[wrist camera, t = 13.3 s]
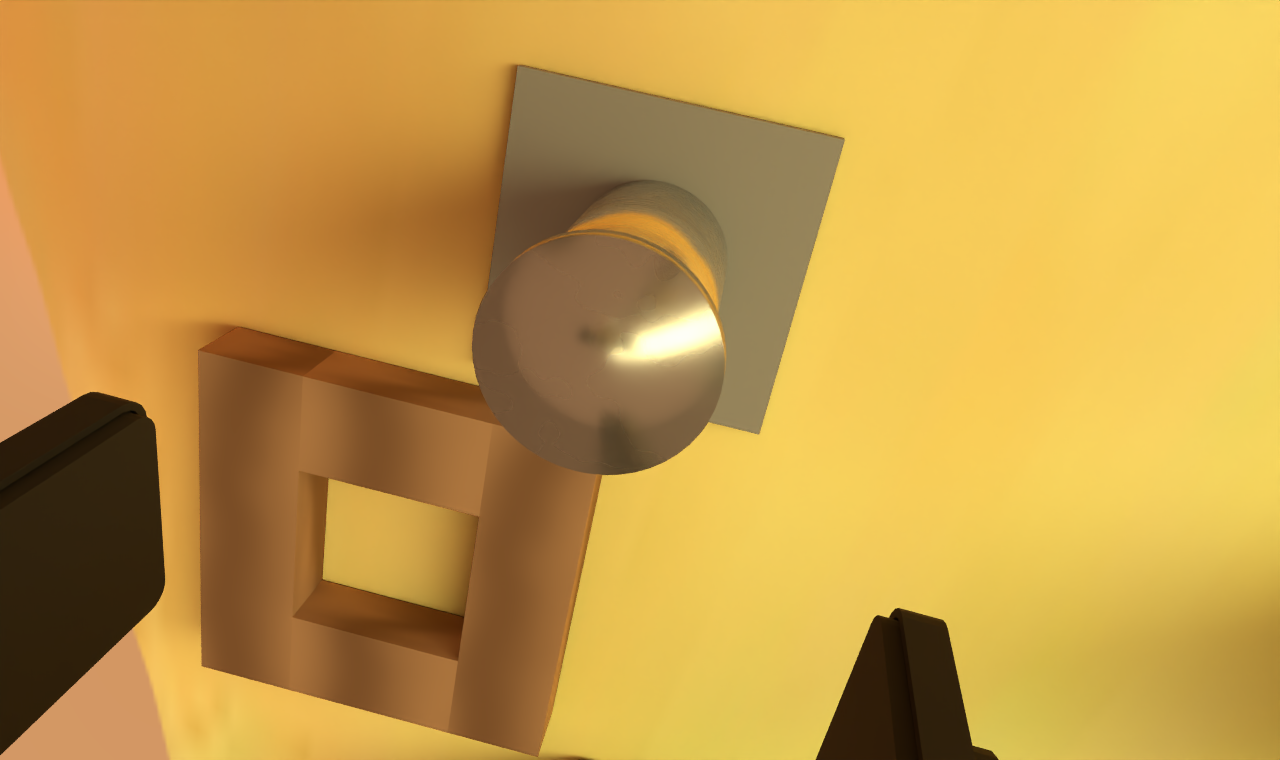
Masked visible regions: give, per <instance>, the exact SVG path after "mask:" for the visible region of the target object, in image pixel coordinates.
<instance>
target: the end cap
mask: <svg viewBox="0 0 1280 760" xmlns="http://www.w3.org/2000/svg"><path fill="white" fill-rule="evenodd" d="M727 263H728V255H727V246H726V241H725V237H724V234H723V232H722V229H721V227H720V225H719V223H718V221H717V219H716V218H715V216H714V215H713V213H712V212H711V210H710V209H709V208H708V207H707V206H706V205H705V204H704V203H703V202H702V201H701V200H700V199H698V198H697V197H696V196H695V195H693V194H692V193H690V192H688V191H687V190H685V189H683V188H681V187H679V186H676V185H673V184H670V183H667V182H661V181H654V180H642V181H634V182H629V183H625V184H622V185H620V186H617V187H615V188H613V189H611V190H609V191H608V192H606V193H605V194H603V195H602V196H601V197H599V198H598V199H597V200H596V201H595V202H594V203H593V204H592V205H591V206H590V207H589V208H588V209H587V210H586V211H585V212H584V213H583V214H582V215H581V216H580V217H579V218H578V219H577V220H576V222H575V223H574V224H573V225H572V226H571V227H570V228H569V229H568V230H567V231H566V232H565V233H562V234H558V235H555V236H553V237H550V238H547V239H545V240H543V241H541V242H539V243H537V244H535V245H533V246H531V247H530V248H528V249H527V250H526V251H524V252H523V253H522V254H520V255H519V256H518V257H516V258H515V259H514V260H513V261H512V262H511V263H510V264H509V265H508V266H507V267H506V268H505V269H504V270H503V271H502V272H501V273H500V274H499V275H498V276H497V278H496V279H495V280H494V282H493V283H492V284H491V286H490V287H489V289H488V290H487V292H486V294H485V296H484V298H483V300H482V302H481V304H480V307H479V310H478V313H477V315H476V320H475V324H474V329H473V340H472V352H473V363H474V368H475V373H476V378H477V380H478V383H479V386H480V389H481V392H482V394H483V396H484V398H485V400H486V402H487V404H488V406H489V408H490V409H491V411H492V412H493V414H494V415H495V417H496V418H497V420H498V421H499V422H500V423H501V425H502V426H503V427H504V428H505V429H506V431H507V432H509V433H510V434H511V435H512V436H513V437H514V438H515V439H516V440H517V441H518V442H519V443H521V444H522V445H523V446H524V447H526V448H527V449H528V450H530V451H531V452H533V453H535V454H536V455H538V456H540V457H541V458H543V459H545V460H547V461H549V462H551V463H554V464H556V465H558V466H561V467H564V468H567V469H570V470H573V471H578V472H583V473H588V474H599V475H619V474H626V473H633V472H638V471H641V470H645V469H648V468H651V467H654V466H656V465H658V464H661V463H663V462H665V461H667V460H668V459H670V458H672V457H673V456H675V455H677V454H678V453H679V452H681V451H682V450H683V449H685V448H686V447H687V446H688V445H690V444H691V442H692V441H693V440H694V439H695V438H696V437H697V436H698V435H699V434H700V433H701V431H702V430H703V429H704V427H705V426H706V425H707V423H708V422H709V420H710V418H711V416H712V414H713V412H714V410H715V409H716V406H717V403H718V400H719V397H720V395H721V390H722V385H723V380H724V374H725V366H726V344H725V335H724V331H723V327H722V322H721V319H720V317H719V314H718V313H719V308H720V303H721V298H722V293H723V287H724V282H725V277H726V272H727Z"/></svg>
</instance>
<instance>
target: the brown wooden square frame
mask: <svg viewBox="0 0 1280 760" xmlns="http://www.w3.org/2000/svg"><path fill="white" fill-rule="evenodd" d="M198 366H199V460H200V553H201V647H202V666H203V667H207V668H211V669H214V670H218V671H222V672H226V673H229V674H233V675H237V676H240V677H244V678H248V679H251V680H255V681H259V682H262V683H266V684H270V685H274V686H277V687H281V688H285V689H288V690H292V691H296V692H299V693H303V694H307V695H311V696H314V697H318V698H322V699H325V700H329V701H333V702H336V703H340V704H344V705H348V706H351V707H355V708H359V709H362V710H366V711H370V712H373V713H377V714H381V715H385V716H388V717H392V718H396V719H399V720H403V721H407V722H410V723H414V724H418V725H422V726H425V727H429V728H433V729H436V730H440V731H444V732H447V733H451V734H455V735H459V736H462V737H466V738H470V739H473V740H477V741H481V742H484V743H488V744H492V745H496V746H499V747H503V748H507V749H510V750H514V751H518V752H521V753H525V754H529V755H533V756H536V757H538V754H539V751H540V748H541V745H542V742H543V739H544V736H545V733H546V730H547V726H548V723H549V720H550V717H551V714H552V710H553V705H554V701H555V696H556V691H557V687H558V682H559V677H560V672H561V668H562V663H563V658H564V653H565V649H566V644H567V639H568V634H569V630H570V625H571V620H572V615H573V611H574V606H575V601H576V596H577V592H578V587H579V582H580V577H581V573H582V568H583V563H584V558H585V554H586V549H587V544H588V540H589V535H590V530H591V525H592V521H593V516H594V511H595V506H596V502H597V497H598V492H599V487H600V483H601V478H602V475H599V474H588V473H583V472H578V471H573V470H570V469H567V468H564V467H561V466H558V465H556V464H554V463H551V462H549V461H547V460H545V459H543V458H541V457H540V456H538V455H536V454H535V453H533V452H531V451H530V450H528V449H527V448H526V447H524V446H523V445H522V444H521V443H519V442H518V441H517V440H516V439H515V438H514V437H513V436H512V435H511V434H510V433H509V432H507V431H506V429H505V428H504V427H503V426H502V425H501V423H500V422H499V421H498V420H497V418H496V417H495V415H494V414H493V412H492V411H491V409H490V408H489V406H488V404H487V402H486V400H485V398H484V396H483V394H482V392H481V389H480V387H479V386H475V385H471V384H467V383H463V382H459V381H455V380H451V379H447V378H443V377H439V376H435V375H431V374H427V373H423V372H419V371H415V370H411V369H407V368H403V367H399V366H395V365H391V364H387V363H383V362H379V361H375V360H370V359H366V358H362V357H358V356H354V355H350V354H346V353H342V352H338V351H334V350H330V349H326V348H322V347H318V346H314V345H310V344H306V343H302V342H298V341H294V340H290V339H286V338H282V337H278V336H274V335H270V334H266V333H262V332H258V331H254V330H250V329H245V328H241V327H237V328H236V329H234V330H232V331H230V332H229V333H227V334H225V335H224V336H222V337H220V338H218V339H217V340H215V341H213V342H212V343H210V344H208V345H206V346H205V347H203V348H201V349H200V350H198ZM328 478H330V479H334V480H338V481H342V482H345V483H349V484H353V485H357V486H361V487H365V488H369V489H373V490H377V491H381V492H384V493H388V494H392V495H396V496H400V497H404V498H408V499H412V500H416V501H420V502H423V503H427V504H431V505H435V506H439V507H443V508H447V509H451V510H455V511H459V512H463V513H466V514H470V515H474V516H478V517H479V521H478V528H477V535H476V541H475V548H474V555H473V562H472V569H471V575H470V582H469V589H468V596H467V603H466V610H465V616H464V617H461V616H457V615H453V614H450V613H446V612H442V611H438V610H434V609H431V608H427V607H423V606H419V605H415V604H411V603H408V602H404V601H400V600H396V599H392V598H389V597H385V596H381V595H377V594H373V593H370V592H366V591H362V590H358V589H354V588H351V587H347V586H343V585H339V584H335V583H332V582H328V581H324V580H322V575H323V558H324V541H325V525H326V508H327V492H328Z"/></svg>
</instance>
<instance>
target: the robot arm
mask: <svg viewBox="0 0 1280 760" xmlns="http://www.w3.org/2000/svg"><path fill="white" fill-rule="evenodd" d="M164 586H165V569H164V554H163V538H162V522H161V507H160V491H159V475H158V460H157V444H156V429H155V425H154V423H153V421H152V420H151V419H150V418H148V417H147V416H146V411H145V410H144V408H143V407H142V405H140V404H138V403H136V402H132V401H129V400H125V399H121V398H118V397H114V396H110V395H107V394H103V393H99V392H90V393H87V394H85V395H83V396H81V397H79V398H77V399H76V400H74V401H72V402H70V403H69V404H67V405H65V406H63V407H62V408H60V409H58V410H56V411H55V412H53V413H51V414H49V415H48V416H46V417H44V418H43V419H41V420H39V421H37V422H36V423H34V424H32V425H31V426H29V427H27V428H25V429H24V430H22V431H20V432H18V433H17V434H15V435H13V436H11V437H9V438H8V439H6V440H4V441H2V442H1V443H0V755H1V754H2V753H3V752H4V751H5V750H6V749H7V748H8V747H9V746H10V745H11V744H13V743H14V742H15V741H16V740H17V739H18V738H19V737H20V736H21V735H22V734H23V733H24V732H25V731H26V730H27V729H28V728H29V727H30V726H31V725H32V724H33V723H34V722H35V721H36V720H38V719H39V718H40V717H41V716H42V715H43V714H44V713H45V712H46V711H47V710H48V709H49V708H50V707H51V706H52V705H53V704H54V703H55V702H56V701H57V700H58V699H59V698H60V697H61V696H63V694H65V693H66V692H67V691H68V690H69V689H70V688H71V687H72V686H73V685H74V684H75V683H76V682H77V681H78V680H79V679H80V678H81V677H82V676H83V675H84V674H85V673H86V672H88V671H89V670H90V668H92V667H93V666H94V665H95V664H96V663H97V662H98V661H99V660H100V659H101V658H102V657H103V656H104V655H105V654H106V653H107V652H108V651H109V650H110V649H111V648H112V647H114V645H116V643H118V642H119V641H120V640H121V639H122V638H123V637H124V636H125V635H126V634H127V633H128V632H129V631H130V630H131V629H132V628H133V627H134V626H135V625H136V624H137V623H139V622H140V621H141V620H142V619H143V618H144V617H145V616H146V615H147V614H148V613H149V612H150V611H151V610H152V609H153V608H154V607H155V605H156V604H157V602H158V601H159V599H160V597H161V595H162V593H163V589H164ZM816 760H998V758H997V757H996V756H995V755H994V753H993V752H992V751H990V750H986V749H982V748H979V747H975V746H972V742H971V737H970V732H969V727H968V723H967V718H966V713H965V709H964V704H963V699H962V694H961V690H960V685H959V680H958V675H957V671H956V666H955V661H954V657H953V652H952V647H951V642H950V638H949V633H948V628H947V626H946V623H945V622H944V621H943V620H941V619H937V618H933V617H930V616H926V615H922V614H919V613H915V612H911V611H908V610H904V609H900V608H897V609H895V610H894V611H893V612H892V613H891V615H890V617H889V618H887V617H883V616H879V615H877V616H876V617H875V618H874V619H873V621H872V623H871V626H870V628H869V630H868V633H867V635H866V638H865V640H864V643H863V645H862V648H861V650H860V653H859V655H858V657H857V660H856V662H855V665H854V667H853V670H852V672H851V675H850V677H849V680H848V682H847V684H846V687H845V689H844V692H843V694H842V697H841V699H840V702H839V704H838V706H837V709H836V711H835V714H834V716H833V719H832V721H831V724H830V726H829V729H828V731H827V733H826V736H825V738H824V741H823V743H822V746H821V748H820V751H819V753H818V756H817V758H816Z"/></svg>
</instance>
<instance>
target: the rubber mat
mask: <svg viewBox="0 0 1280 760" xmlns="http://www.w3.org/2000/svg"><path fill="white" fill-rule="evenodd" d="M844 141H845V140H844V138H841V137H836V136H832V135H828V134H823V133H819V132H814V131H810V130H805V129H801V128H797V127H792V126H788V125H783V124H779V123H775V122H770V121H766V120H761V119H757V118H753V117H748V116H744V115H739V114H735V113H731V112H726V111H722V110H717V109H713V108H709V107H704V106H700V105H695V104H691V103H687V102H682V101H678V100H673V99H669V98H665V97H660V96H656V95H651V94H647V93H643V92H638V91H634V90H629V89H625V88H621V87H616V86H612V85H607V84H603V83H599V82H594V81H590V80H585V79H581V78H577V77H572V76H568V75H563V74H559V73H555V72H550V71H546V70H541V69H537V68H533V67H528V66H524V65H519V66H518V67H517V75H516V82H515V90H514V97H513V105H512V112H511V119H510V127H509V134H508V142H507V149H506V157H505V164H504V172H503V179H502V187H501V194H500V201H499V209H498V216H497V224H496V231H495V239H494V246H493V254H492V261H491V268H490V276H489V283H488V289H489V287H490V286H491V284H492V283H493V282H494V280H495V279H496V278H497V276H498V275H499V274H500V273H501V272H502V271H503V270H504V269H505V268H506V267H507V266H508V265H509V264H510V263H511V262H512V261H513V260H514V259H515V258H516V257H518V256H519V255H520V254H522V253H523V252H524V251H526V250H527V249H528V248H530V247H531V246H533V245H535V244H537V243H539V242H541V241H543V240H545V239H547V238H550V237H553V236H555V235H558V234H562V233H565V232H566V231H567V230H568V229H569V228H570V227H571V226H572V225H573V224H574V223H575V222H576V220H577V219H578V218H579V217H580V216H581V215H582V214H583V213H584V212H585V211H586V210H587V209H588V208H589V207H590V206H591V205H592V204H593V203H594V202H595V201H596V200H597V199H598V198H599V197H601V196H602V195H603V194H605V193H606V192H608V191H609V190H611V189H613V188H615V187H617V186H620V185H622V184H625V183H629V182H634V181H642V180H654V181H661V182H667V183H670V184H673V185H676V186H679V187H681V188H683V189H685V190H687V191H688V192H690V193H692V194H693V195H695V196H696V197H697V198H698V199H700V200H701V201H702V202H703V203H704V204H705V205H706V206H707V207H708V208H709V209H710V210H711V212H712V213H713V215H714V216H715V218H716V219H717V221H718V223H719V225H720V227H721V229H722V232H723V234H724V237H725V241H726V246H727V255H728V263H727V272H726V277H725V282H724V287H723V293H722V298H721V303H720V308H719V313H718V314H719V317H720V319H721V322H722V327H723V331H724V335H725V344H726V366H725V374H724V380H723V385H722V390H721V395H720V397H719V400H718V403H717V406H716V409H715V410H714V412H713V414H712V416H711V418H710V420H709V422H711V423H715V424H719V425H723V426H727V427H731V428H735V429H739V430H743V431H747V432H751V433H755V434H759V433H760V430H761V426H762V423H763V419H764V416H765V412H766V409H767V406H768V402H769V399H770V395H771V392H772V388H773V385H774V382H775V378H776V375H777V371H778V368H779V364H780V361H781V357H782V354H783V351H784V347H785V344H786V340H787V337H788V333H789V330H790V327H791V323H792V320H793V316H794V313H795V309H796V306H797V302H798V299H799V296H800V292H801V289H802V285H803V282H804V278H805V275H806V272H807V268H808V265H809V261H810V258H811V254H812V251H813V247H814V244H815V241H816V237H817V234H818V230H819V227H820V223H821V220H822V217H823V213H824V210H825V206H826V203H827V199H828V196H829V192H830V189H831V186H832V182H833V179H834V175H835V172H836V168H837V165H838V161H839V158H840V155H841V151H842V148H843V144H844Z"/></svg>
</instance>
